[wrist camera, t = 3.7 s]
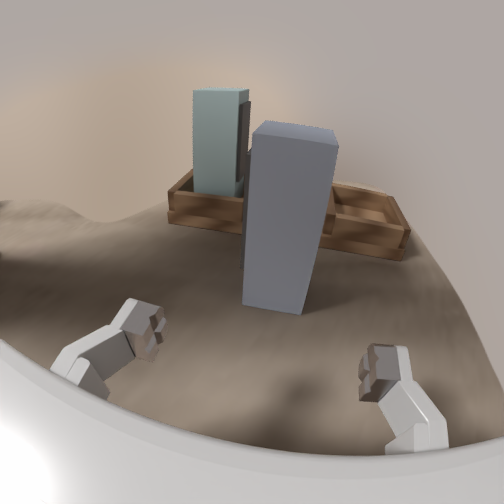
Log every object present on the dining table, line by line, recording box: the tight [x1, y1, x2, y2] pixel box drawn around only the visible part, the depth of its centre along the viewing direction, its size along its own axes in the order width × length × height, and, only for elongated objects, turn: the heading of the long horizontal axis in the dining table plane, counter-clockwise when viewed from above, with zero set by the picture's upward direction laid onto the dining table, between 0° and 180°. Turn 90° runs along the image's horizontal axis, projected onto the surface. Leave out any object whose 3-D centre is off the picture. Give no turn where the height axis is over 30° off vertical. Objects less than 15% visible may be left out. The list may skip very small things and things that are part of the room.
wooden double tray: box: [167, 169, 411, 261], centre depth 35 cm, size 28×10×4 cm, turn 79°
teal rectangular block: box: [193, 88, 251, 198], centre depth 32 cm, size 5×5×14 cm
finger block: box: [240, 121, 339, 315], centre depth 21 cm, size 5×5×14 cm
